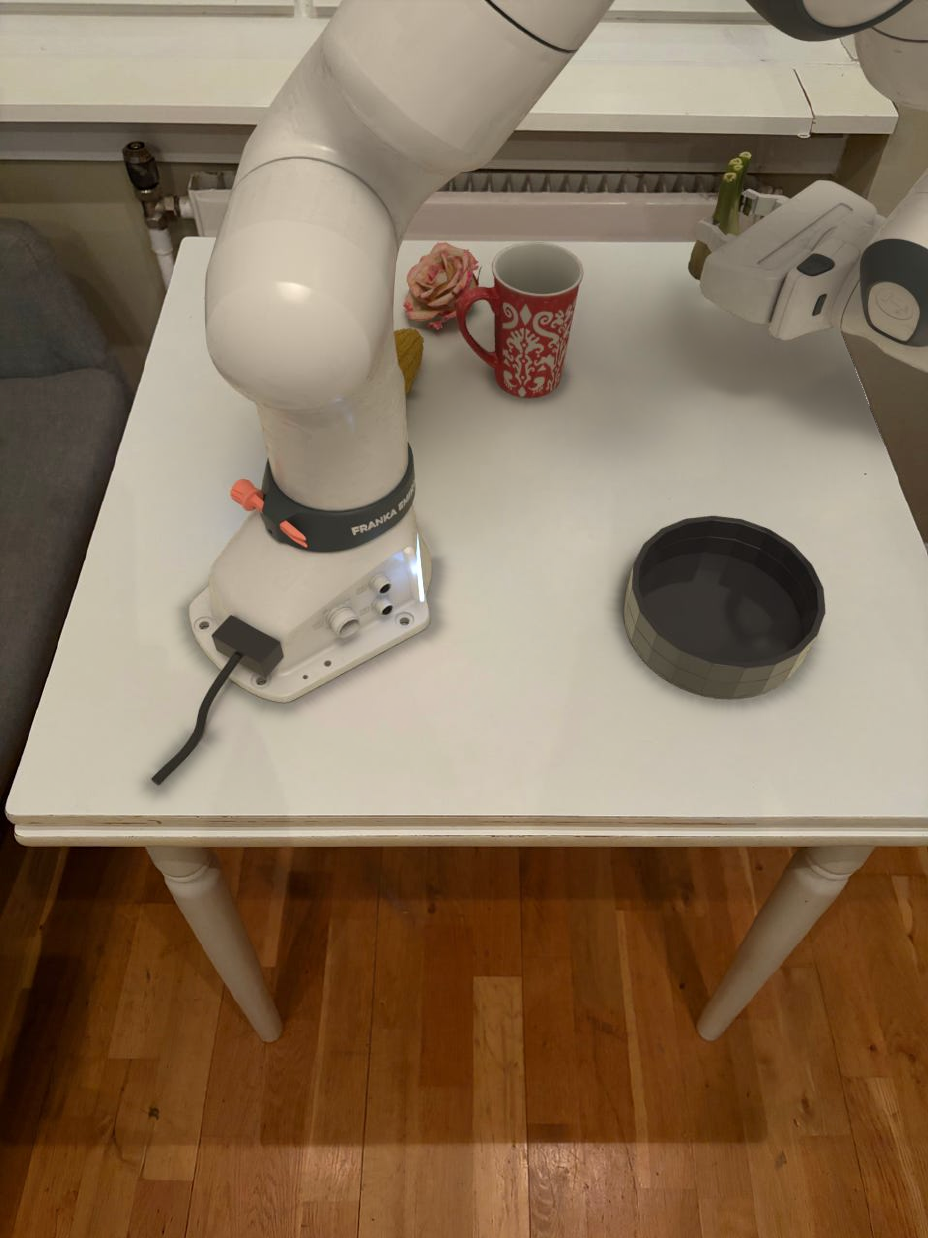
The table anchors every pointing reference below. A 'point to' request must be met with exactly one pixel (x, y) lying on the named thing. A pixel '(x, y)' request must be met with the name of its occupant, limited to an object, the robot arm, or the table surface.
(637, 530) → the table surface
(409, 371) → the food
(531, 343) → the mug
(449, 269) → the flower
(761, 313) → the robot arm
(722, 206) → the fennel bulb
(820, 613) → the pan
